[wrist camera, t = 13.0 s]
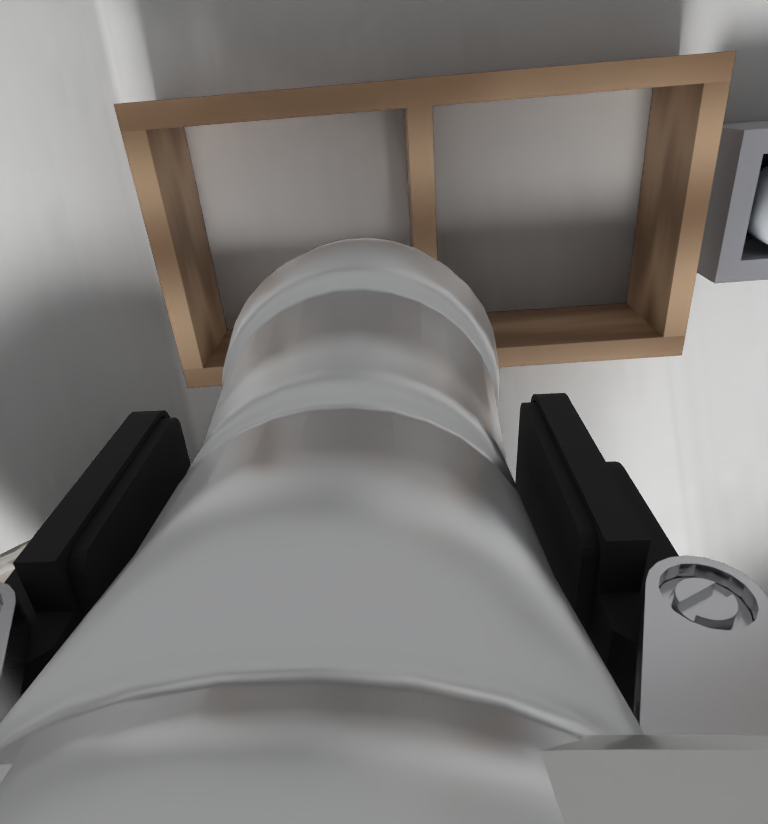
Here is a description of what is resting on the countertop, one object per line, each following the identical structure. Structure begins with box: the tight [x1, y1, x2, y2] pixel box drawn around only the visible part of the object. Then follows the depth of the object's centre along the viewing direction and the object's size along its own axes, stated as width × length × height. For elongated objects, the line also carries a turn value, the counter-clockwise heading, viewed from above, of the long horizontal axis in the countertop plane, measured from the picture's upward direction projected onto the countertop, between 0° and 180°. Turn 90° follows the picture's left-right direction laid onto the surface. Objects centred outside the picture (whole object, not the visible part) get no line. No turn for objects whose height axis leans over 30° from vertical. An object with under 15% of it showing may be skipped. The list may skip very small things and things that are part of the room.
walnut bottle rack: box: [114, 51, 736, 388], centre depth 28 cm, size 12×24×5 cm, turn 94°
